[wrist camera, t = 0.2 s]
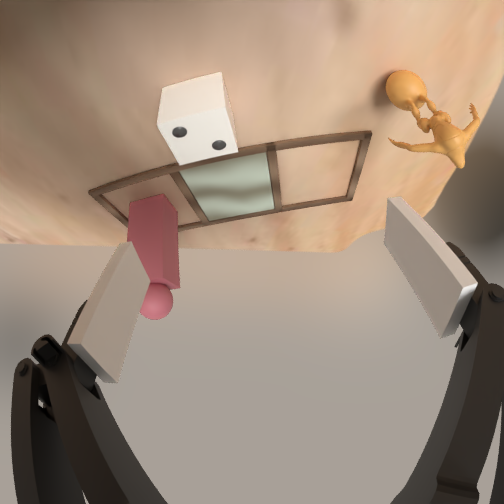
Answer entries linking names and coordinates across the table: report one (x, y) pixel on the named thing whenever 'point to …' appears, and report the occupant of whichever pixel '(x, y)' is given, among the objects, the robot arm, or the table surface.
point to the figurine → (445, 134)
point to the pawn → (156, 251)
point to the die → (197, 119)
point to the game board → (238, 181)
